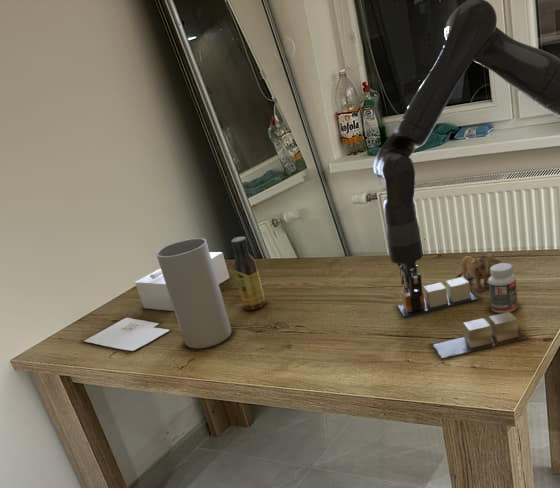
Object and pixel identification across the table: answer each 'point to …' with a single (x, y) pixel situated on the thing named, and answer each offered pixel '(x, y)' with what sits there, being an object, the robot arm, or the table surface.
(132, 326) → the paper
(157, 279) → the tissue box
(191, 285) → the cylinder vase
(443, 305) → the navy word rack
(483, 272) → the lion figurine
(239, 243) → the sauce bottle
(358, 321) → the table surface
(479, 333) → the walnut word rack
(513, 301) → the pill bottle
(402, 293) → the orange cube
